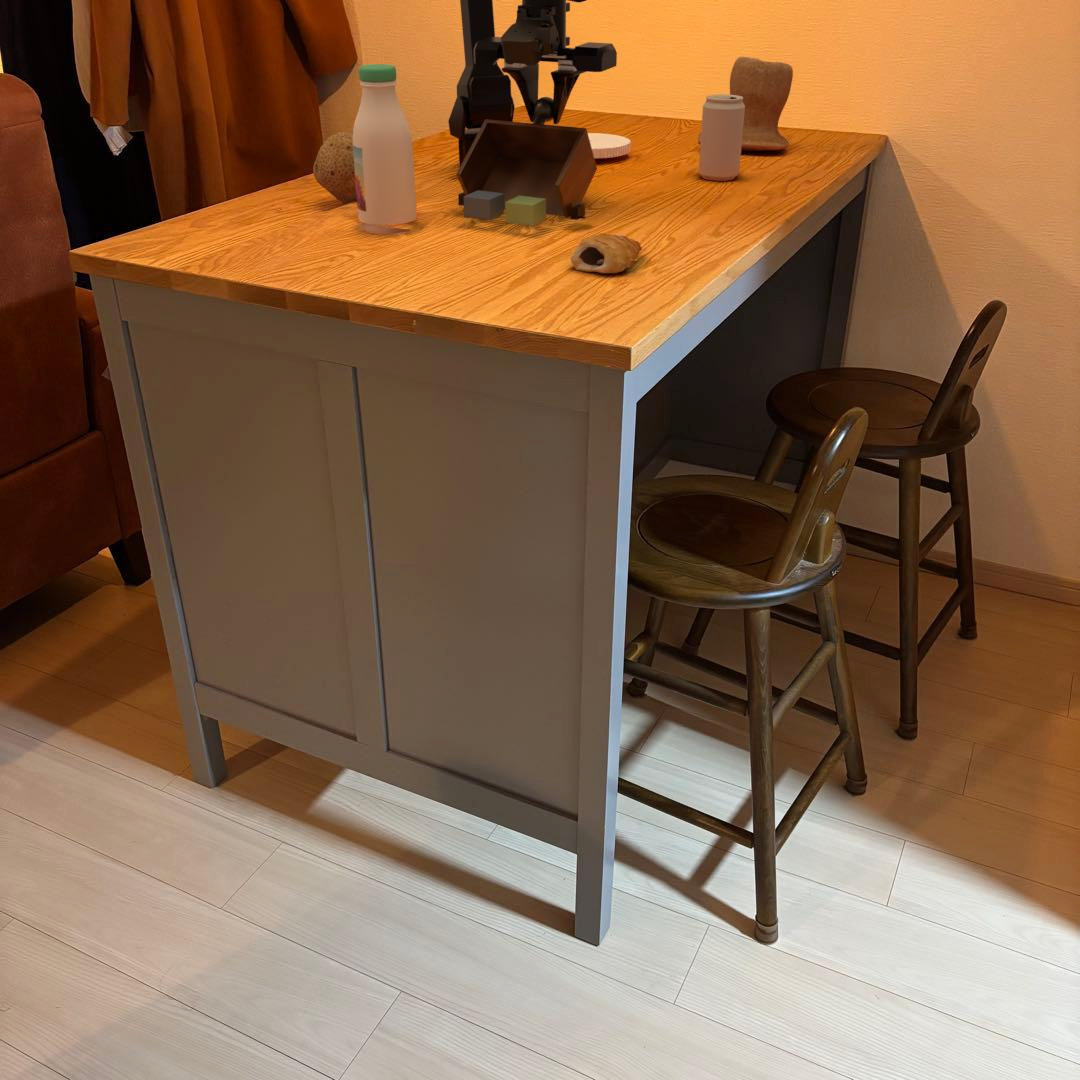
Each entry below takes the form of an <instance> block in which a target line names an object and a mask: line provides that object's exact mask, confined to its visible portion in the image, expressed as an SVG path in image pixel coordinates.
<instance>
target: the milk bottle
mask: <svg viewBox="0 0 1080 1080" xmlns="http://www.w3.org/2000/svg"><path fill="white" fill-rule="evenodd" d="M358 77H359V85H360V86H361V100H360V105H359V108H358V111H357V114H356V117H355V120H354V124H353V129H352V134H353V156H354V170H355V183H356V195H357V201H356V206H357V217H358V221H359V223H358V225H359V227H360V229H361V230H362V231H364V232H366V233H370V234H377V235H393V234H401V233H407V232H410V231H411V229H406V228H399V227H393V226H396V225H404V224H407V223H411V222H413V221H415V220H417V218H418V215H417V214H418V213H417V212H418V211H417V195H416V181H415V180H416V178H415V161H414V150H413V149H414V148H413V138H412V131H411V127H410V124H409V121H408V119H407V117H406V115H405V114H404V111H403V109H402V107H401V105H400V102H399V100H398V96H397V92H396V86H397V84H398V83H397V69H396V66H395V65H392V64H388V63H387V64H384V63H374V64H373V63H371V64H364V65H361V66H359V67H358ZM390 226H392V227H390Z"/></svg>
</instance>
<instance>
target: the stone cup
mask: <svg viewBox="0 0 1080 1080" xmlns="http://www.w3.org/2000/svg"><path fill="white" fill-rule="evenodd" d="M793 78H794V69H793V67H792V65H791V64H789V63H787V62H781V61H766V60H761V59H759V58H756V57H750V56H749V57H748V56H738V57H737V58H736V60H735V61H734V63H733V65H732V68H731V71H730V76H729V95H738V96H742V97H743V100H742V101H743V103H744V105H745V112H744V124H743V135H742V147H741V152H743V151H744V152H762V151H763V152H764V151H779V150H783V149H786V148H787V147H788V146H789V140H788V139H787V138H786V137H785V136H783V135H781V134H780V132H779V128H778V127H779V121H780V117H781V115H782V113H783V110H784V108H785V106H786V104H787V102H788V99H789V96H790V93H791V87H792V83H793ZM697 137H698V139H697V143H698V145H700V142H701V131H700V132H699V134H698V136H697Z"/></svg>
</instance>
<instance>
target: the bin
mask: <svg viewBox="0 0 1080 1080" xmlns="http://www.w3.org/2000/svg"><path fill="white" fill-rule="evenodd" d="M534 113H535V116H536V118H535V120H534V122H521V121H513V122H510V121H499V120H488V119H485V121H484V123H483V125H482V127H481V129H480V131H479V132H478V134H477V136H476V138H475V140H474V142H473V144H472V146H471V147H470V149H469V151H468V153H467V155H466V157H465V159H464V161H463V163H462V164H461V166H460V168H458V170H457V172H456V176H457V180H458V181H459V184H460V185H461V189H462V191H463V192H464V193H465V196H466V195H468V194H471V193H473V192H475V191H478V190H480V191H488V192H497V193H504V210H505V202H507V201H509V200H511V199H513V198H515V197H517V196H527V197H535V198H544V199H546V215H548V216H549V215H550V216H558V217H564V218H568V219H569V218H571V208H572V207H574V206H576V205H578V204H582V202H583V200H584V198H585V196H586V193H587V191H588V189H589V187H590V185H591V182H592V181H593V178H594V176H595V174H596V171H597V170H598V166H597V163H596V158H594V155H593V152H592V148H591V144H590V140H589V137H588V133H589V132H588V130H587V127H575V126H567V125H556V124H546V123H548V122H551V121H553V98H552V97H549V96H543V97H542V96H541V97H539V98H538V100H537V102H536V103H535V106H534Z"/></svg>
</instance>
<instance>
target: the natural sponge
mask: <svg viewBox="0 0 1080 1080" xmlns="http://www.w3.org/2000/svg"><path fill="white" fill-rule="evenodd" d="M312 172H313V176H314V179H315V180H316V182H317V183H318V185H320V186H321V187H322V188H323V189H325V190H326V191H327V192H328V193H330V194H331V195H332V197H334V198H335V199H337V200H338V201H339V202H340V203H341V204H342V205H343V204H344V205H349V204H351V203H354V202H357V195H356V183H355V170H354V156H353V133H351V132H347V131H340V132H336V133H334V134H331V135H330V136H329V137H327V138H326V139H325V141H323V143H322V144H321V146H320V148H319V150H318V152H317V155H316V158H315V160H314V163H313V167H312Z"/></svg>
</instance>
